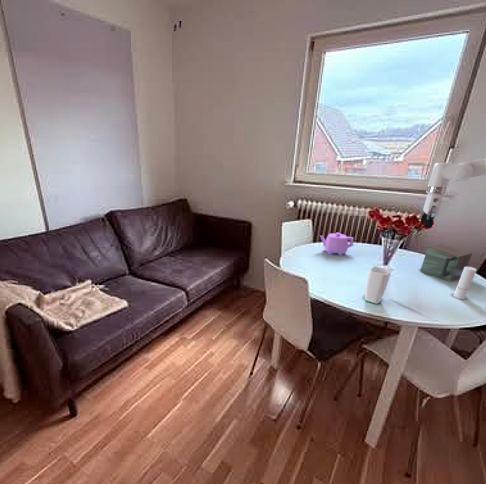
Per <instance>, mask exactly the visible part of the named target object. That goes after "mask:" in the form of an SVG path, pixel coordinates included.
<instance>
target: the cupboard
mask: <svg viewBox="0 0 486 484" xmlns="http://www.w3.org/2000/svg"><path fill="white" fill-rule="evenodd" d="M428 248H432V249H435V250H438V251H442V252H445V253H448V254H452V255H455V256H459V257H460V258H459V261H458V263H457V266H456V269H455V271H454V274H453V277H452V279H451V281H454V280H457V279H460V278H461V275H462V272H463V270H464V267H469V263H470V260H471V257H472V255H473V252H470V251H466V250H463V249H459V248H456V247H453V246H448V245H445V244H437V245H433V246H429V247H428ZM451 281H450V282H451Z"/></svg>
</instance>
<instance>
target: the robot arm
mask: <svg viewBox="0 0 486 484" xmlns="http://www.w3.org/2000/svg"><path fill="white" fill-rule="evenodd" d="M481 176H486V157H484V158H480V159H474V160H469V161H464V162H461V163H460V162H459V163H458V164H454V163H450V162H436V163H435V164H434V165H433V167H432V171H431V173H430V178H429V181H428V185H427V188H426V194H427V196H426V199H425V202H424V204H423V209H422V210H423V212H422V214H421V217H420V220H419V222H420V223H423V227H424V228H427V229H429V228H430V229H431V228H432V226H433V225H434V222H435V217H436V216H438V215H439V213H440V209H441V205H442V201H443V196H444V195H445V194H446V192H447V188H448V185H449V182H450V181H454V182H455V181H456V182H465V181H467V180H469V179H470V178H476V177H481Z"/></svg>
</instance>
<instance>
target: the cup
mask: <svg viewBox="0 0 486 484" xmlns="http://www.w3.org/2000/svg"><path fill="white" fill-rule="evenodd" d="M391 273H392V270H390V269H388V268H384V267H380V266H372V267H371V268H370V269H369V271H368V276H367V280H366V285H365V291H364V300H365V301H366V302H368V303H372V304H374V305H377V304H379V303H380V302H381V301H382V299H383V297H384V295H385V292H386V290H387V286H388V283H389V281H390V277H391Z"/></svg>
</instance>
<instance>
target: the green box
mask: <svg viewBox="0 0 486 484" xmlns="http://www.w3.org/2000/svg"><path fill="white" fill-rule="evenodd" d="M459 258H460V257H459V256H455V255H452V254H448V253H445V252H442V251H438V250H435V249H432V248H429V247H427V248H426V252H425V254H424V258H423V261H422V264H421V267H420V271H419V272H421V273H423V274H426V275H429V276H431V277H432V276H435V277H437V278H440V279H443V280H446V281H448V282H451V279H452V277H453V274H454V271H455V269H456V266H457V263H458V261H459Z"/></svg>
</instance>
